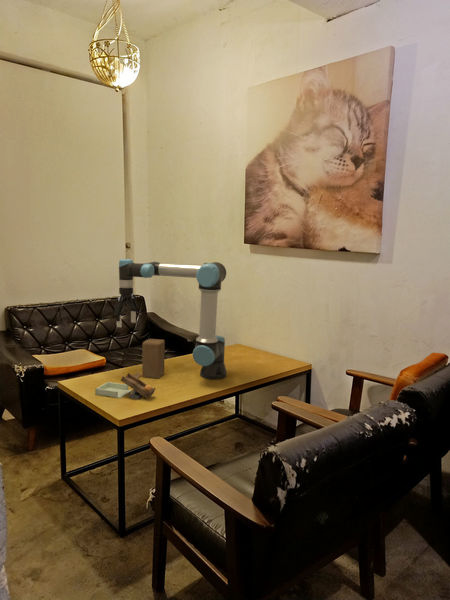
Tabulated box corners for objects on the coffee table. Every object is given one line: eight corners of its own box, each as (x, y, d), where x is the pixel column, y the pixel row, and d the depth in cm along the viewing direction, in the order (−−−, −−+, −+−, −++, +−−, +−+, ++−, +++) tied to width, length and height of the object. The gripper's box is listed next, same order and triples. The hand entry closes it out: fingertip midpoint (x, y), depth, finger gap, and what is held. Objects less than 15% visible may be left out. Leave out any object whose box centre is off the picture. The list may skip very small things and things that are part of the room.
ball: (152, 391, 222) (153, 385, 221) (149, 394, 219) (150, 387, 218) (145, 389, 223) (147, 382, 222) (142, 392, 220) (143, 385, 219)
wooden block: (158, 379, 249) (159, 343, 246) (141, 377, 251) (141, 342, 248) (164, 373, 259) (165, 339, 256) (148, 372, 261) (148, 338, 258)
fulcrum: (145, 394, 226) (145, 386, 225) (138, 399, 219) (138, 391, 218) (136, 393, 227) (136, 385, 226) (129, 398, 220) (129, 390, 220)
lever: (160, 388, 231) (162, 383, 230) (146, 398, 218) (149, 392, 217) (134, 372, 234) (137, 367, 233) (120, 381, 221) (122, 375, 220)
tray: (131, 391, 230) (131, 385, 230) (120, 398, 220) (120, 392, 219) (107, 387, 234) (107, 381, 234) (95, 394, 224) (95, 388, 223)
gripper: (133, 284, 264) (133, 320, 268) (106, 289, 242) (107, 328, 245) (144, 285, 261) (144, 321, 265) (118, 290, 239) (118, 329, 242)
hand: (126, 324), depth 255 cm, fingers open, 13 cm apart
